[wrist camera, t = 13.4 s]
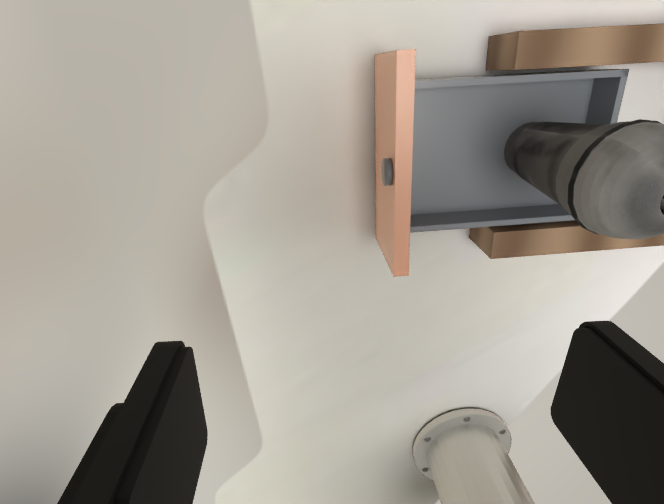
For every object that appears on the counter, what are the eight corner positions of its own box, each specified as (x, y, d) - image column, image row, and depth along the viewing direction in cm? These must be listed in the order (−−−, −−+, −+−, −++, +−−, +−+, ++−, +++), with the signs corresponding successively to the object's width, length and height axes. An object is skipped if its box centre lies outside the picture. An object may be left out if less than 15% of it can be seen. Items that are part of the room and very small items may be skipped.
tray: (370, 238, 39) (387, 277, 32) (368, 55, 32) (389, 50, 25) (562, 224, 40) (621, 258, 33) (599, 42, 33) (683, 34, 26)
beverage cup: (577, 101, 34) (895, 136, 16) (561, 185, 37) (815, 295, 19) (493, 107, 34) (719, 150, 16) (484, 191, 37) (666, 310, 19)
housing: (469, 237, 40) (490, 258, 36) (489, 36, 33) (519, 31, 28) (661, 223, 41) (706, 241, 37) (722, 24, 34) (788, 17, 29)
